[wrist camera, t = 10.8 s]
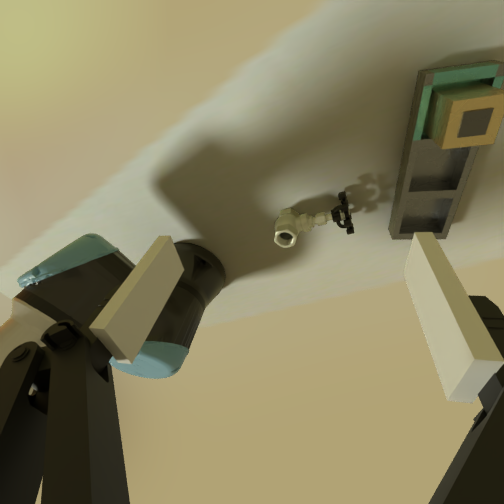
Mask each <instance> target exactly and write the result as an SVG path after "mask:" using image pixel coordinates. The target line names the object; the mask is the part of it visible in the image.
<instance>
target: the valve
mask: <svg viewBox="0 0 504 504" xmlns="http://www.w3.org/2000/svg"><path fill="white" fill-rule="evenodd" d="M338 197H339V200H342V201H341V204H342V205H339V206H337V207H335V208H334V209H333V210H331V213H330V214H326V215H325V213H324V212H322V213H318V214H316V217H312V215H310V216H308V214H307V213H305V214H301V215H300V217H299V214H298V213H297V212H296V211H295V210H293V209H292V208H288V209H284V210H281V211H280V215H279V218H278V219H277V220H276V222H275V226H274V229H275V233H276V234H275V239H274V242H275V243H276V244H278V245H279V246H280V247H282V248H288V247H292V246H295V243H296V239H297V235H298V234H299V232H300V231H304V232H309V231H311V228H312V227H314V225H315V224H318V226H320V225H324V224H327V221H328V220H332V219H333V222H336V223H337V225H338V226H339V227H340V228H347V230H346V231H347V234H352V233H354V227H353V223H352V221H351V219H352V217H351V213H350V210H349V204H348V200H347V196H346V192H345V191H344V192H340V193H339V194H338ZM344 219H345V220H344ZM342 220H344V225H342V224H341V223H340V221H342Z"/></svg>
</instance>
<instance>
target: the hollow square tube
mask: <svg viewBox="0 0 504 504" xmlns="http://www.w3.org/2000/svg"><path fill="white" fill-rule="evenodd" d="M503 115H504V90H502V89H499V88H496V87H493V86H490V85H487V84H484V83H481V82H478V81H471V82H465V83H459V84H452V85H446V86H440V87H434V88H432V90H431V95H430V99H429V104H428V108H427V113H426V117H425V122H424V126H423V131H424V132H425V133H426V134H427V135H428V136H429V137H430V138H431V139H432V140H433V141H434V142H435V143H436V144H437V145H438V146H439V147H440V148H441V149H451V148H460V147H469V146H478V145H487V144H494V141H495V138H496V136H497V133H498V130H499V127H500V124H501V121H502V118H503Z"/></svg>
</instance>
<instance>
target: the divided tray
mask: <svg viewBox="0 0 504 504" xmlns="http://www.w3.org/2000/svg"><path fill="white" fill-rule="evenodd" d="M503 80H504V62H500V61H495V60H493V61H486V62H479V63H472V64H465V65H457V66H450V67H443V68H436V69H429V70H422V71H418V77H417V82H416V87H415V92H414V97H413V103H412V108H411V113H410V118H409V124H408V129H407V134H406V139H405V144H404V150H403V155H402V160H401V165H400V171H399V176H398V181H397V186H396V191H395V197H394V202H393V207H392V212H391V218H390V223H389V228H388V229H389V232H390V235H391V238H392V240H394V239H413V236H414V232H433V234H434V236H435V238H436V239H446V237H447V234H448V232H449V229H450V226H451V223H452V220H453V218H454V215H455V212H456V209H457V206H458V204H459V201H460V198H461V195H462V192H463V190H464V187H465V184H466V181H467V178H468V176H469V173H470V170H471V167H472V164H473V162H474V159H475V156H476V153H477V150H478V148H479V145H478V146H469V147H460V148H451V149H441V148H440V147H439V146H438V145H437V144H436V143H435V142H434V141H433V140H432V139H431V138H430V137H429V136H428V135H427V134H426V133H425V132H424V131H423V126H424V122H425V117H426V113H427V108H428V104H429V99H430V95H431V90H432V88H434V87H440V86H446V85H452V84H459V83H465V82H471V81H478V82H481V83H484V84H487V85H490V86H493V87H496V88H499V89H500V88H501V85H502V83H503Z"/></svg>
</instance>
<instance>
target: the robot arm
mask: <svg viewBox="0 0 504 504" xmlns="http://www.w3.org/2000/svg"><path fill="white" fill-rule="evenodd" d="M404 277H405V280H406V283H407V285H408V288H409V291H410V294H411V297H412V300H413V303H414V306H415V309H416V312H417V314H418V317H419V320H420V323H421V326H422V329H423V332H424V335H425V337H426V340H427V343H428V346H429V349H430V352H431V355H432V358H433V360H434V363H435V366H436V369H437V372H438V375H439V378H440V381H441V383H442V386H443V389H444V392H445V395H446V398H447V400H448V401H456V402H465V403H473V402H474V400H475V399H476V398H477V396H479V398H480V401H481V403H482V405H483V409H482V410H481V411H480V412H479V413H478V415H477V416H476V417H475V418H474V421H475V422H474V424H473V426H472V428H471V429H470V431H469V433H468V434H467V436H466V438H465V440H464V442H463V443H462V445H461V447H460V449H459V450H458V452H457V454H456V456H455V458H454V459H453V461H452V463H451V465H450V466H449V468H448V470H447V472H446V473H445V476H444V477H443V479H442V481H441V482H440V484H439V486H438V488H437V489H436V491H435V493H434V495H433V496H432V498H431V500H430V502H429V504H504V315H503V314H502V312H501V311H500V309H499V308H498V306H496V305H495V304H494V303H493V302H492V301H490V300H489V299H488V298H487V297H485V296H468V295H467V293H466V291H465V290H464V288H463V286H462V284H461V282H460V281H459V279H458V277H457V276H456V273H455V272H454V270H453V268H452V266H451V265H450V263H449V261H448V259H447V257H446V256H445V254H444V252H443V250H442V248H441V247H440V245H439V243H438V241H437V240H436V238H435V236H434V234H433V232H414V236H413V240H412V243H411V247H410V251H409V255H408V259H407V262H406V266H405V270H404ZM17 282H18V283H19V286H20V287H22V288H23V287H24V289H23V290H22V291H21V292H20V293H19V294H18V295H16V296H15V297H14V298H13V299H12V315H11V318H10V319H9V320H7V321H6V322H5V323H4V324H3V325H2V326H1V327H0V504H35V502H36V498H37V495H38V491H39V488H40V484H41V480H42V477H43V483H42V496H41V504H130V502H129V493H128V487H127V478H126V471H125V464H124V456H123V449H122V442H121V434H120V427H119V419H118V412H117V405H116V397H115V390H114V382H113V375H112V368H111V365H112V366H113V367H115V368H117V369H119V370H121V371H123V372H126V373H128V374H131V375H135V376H139V377H145V378H154V379H156V378H158V379H159V378H167V377H170V376H172V375H174V374H175V373H177V372H178V370H179V369H180V368H181V366H182V364H183V362H184V359H185V357H186V356H187V355H188V353H189V348H190V345H191V343H192V340H193V338H194V335H195V333H196V330H197V328H198V325H199V323H200V320H201V318H202V315H203V312H204V310H205V308H206V307H207V306H208V304H209V303H210V302H211V301H212V300H213V299H214V298H215V297H216V296H217V295H218V294H219V293H220V291H221V289H222V287H223V284H224V282H225V271H224V268H223V266H222V264H221V263H220V261H219V260H218V259H217V258H216V257H215V256H214V255H213V254H212V253H210V252H209V251H207V250H206V249H204V248H202V247H199V246H197V245H193V244H189V243H176V244H174V243H173V241H172V238H171V236H159V237H158V238H157V239H156V241H155V242H154V243H153V245H152V246H151V247H150V248H149V250H148V251H147V252H146V254H145V255H144V256H143V258H142V259H141V260H140V262H139V263H138V264H137V265H135V264H133V263H132V262H131V261H130V260H129V259H128V258H127V257H125V256H124V255H123V254H122V253H121V252H120V251H119V249H118V248H115V247H114V246H113V245H112V244H110V243H109V242H108V241H106V240H105V239H104V238H103V237H101V236H100V235H98V234H93V233H90V234H86V235H83V236H82V237H80V238H78V239H77V240H75V241H74V242H72V243H70V244H69V245H67V246H66V247H64V248H63V249H61V250H60V251H58V252H57V253H55V254H54V255H52V256H51V257H49V258H47V259H46V260H44V261H43V262H41V263H40V264H39V265H37V266H35V267H34V268H33V269H31V270H30V271H28V272H26V273H25V274H23V275H22V276H20V277H19V278H18V280H17Z"/></svg>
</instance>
